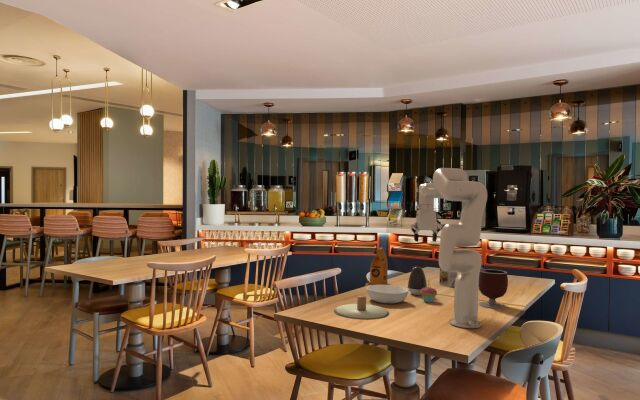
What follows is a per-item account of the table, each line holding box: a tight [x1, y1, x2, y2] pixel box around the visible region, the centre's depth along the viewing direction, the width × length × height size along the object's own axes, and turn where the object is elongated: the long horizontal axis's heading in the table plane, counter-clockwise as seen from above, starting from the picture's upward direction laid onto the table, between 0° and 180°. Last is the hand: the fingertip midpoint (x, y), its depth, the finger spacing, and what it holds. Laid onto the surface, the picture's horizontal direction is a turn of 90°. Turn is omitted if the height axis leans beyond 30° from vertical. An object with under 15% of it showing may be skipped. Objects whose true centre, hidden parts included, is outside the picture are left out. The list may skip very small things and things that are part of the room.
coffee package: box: [369, 247, 389, 286], centre depth 278 cm, size 10×12×22 cm
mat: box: [333, 308, 390, 321], centre depth 208 cm, size 25×25×1 cm
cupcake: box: [420, 279, 438, 303], centre depth 236 cm, size 9×8×12 cm
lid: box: [335, 295, 388, 320], centre depth 208 cm, size 23×23×7 cm
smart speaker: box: [407, 266, 428, 296], centre depth 253 cm, size 10×10×15 cm
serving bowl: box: [366, 284, 409, 304], centre depth 232 cm, size 21×21×7 cm
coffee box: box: [438, 267, 458, 288], centre depth 280 cm, size 9×6×16 cm
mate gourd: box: [478, 266, 509, 310], centre depth 229 cm, size 16×14×20 cm
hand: (425, 241), depth 236 cm, fingers open, 9 cm apart
